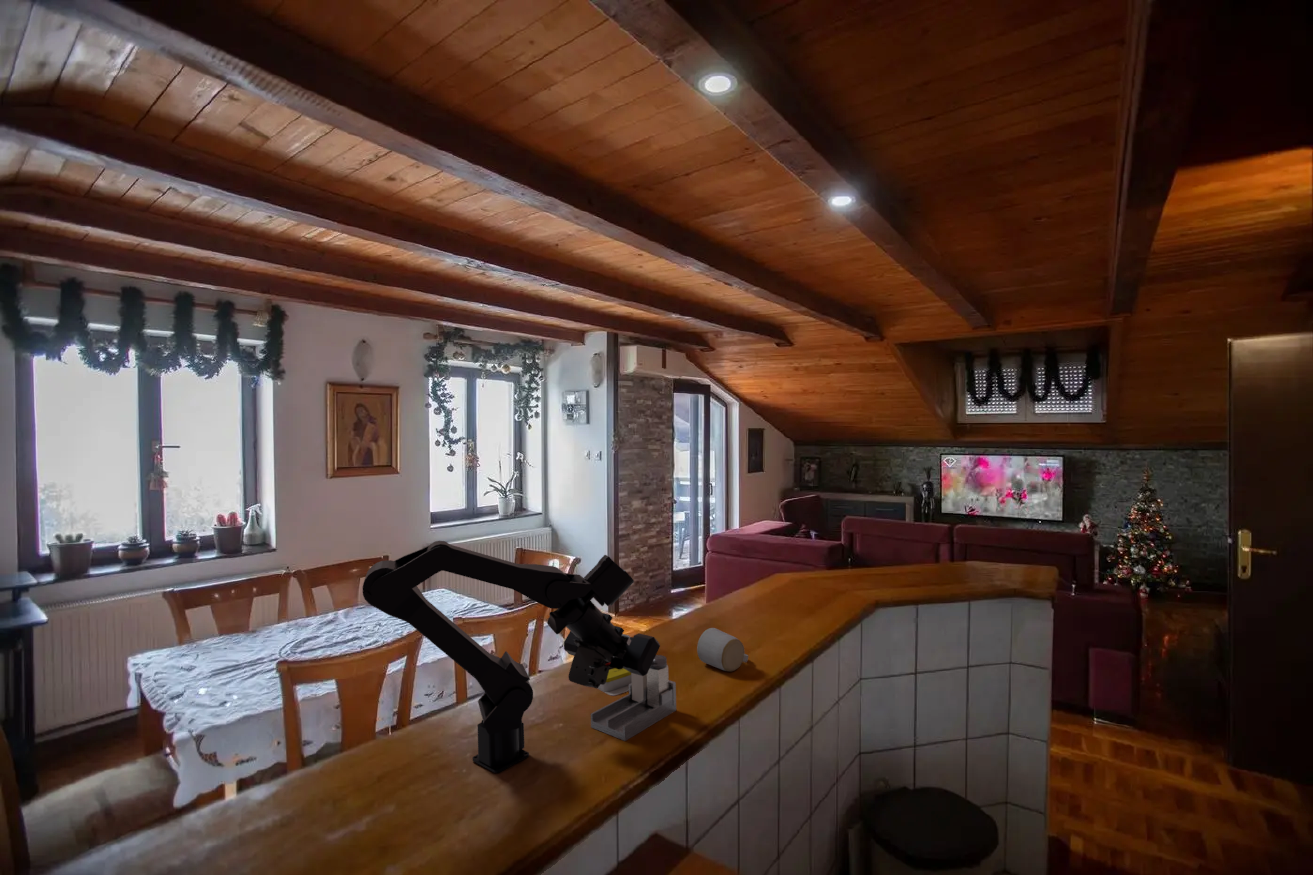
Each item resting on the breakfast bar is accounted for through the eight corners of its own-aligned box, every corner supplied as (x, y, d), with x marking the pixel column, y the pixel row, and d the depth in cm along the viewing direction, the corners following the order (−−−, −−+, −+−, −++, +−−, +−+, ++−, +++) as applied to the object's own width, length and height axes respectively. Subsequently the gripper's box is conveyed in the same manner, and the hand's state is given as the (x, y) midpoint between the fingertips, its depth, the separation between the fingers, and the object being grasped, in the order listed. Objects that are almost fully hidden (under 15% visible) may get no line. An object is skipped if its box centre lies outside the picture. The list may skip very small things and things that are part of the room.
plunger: (643, 704, 112) (642, 658, 112) (629, 699, 114) (628, 654, 114) (655, 698, 115) (654, 653, 115) (641, 693, 117) (640, 649, 117)
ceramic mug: (723, 677, 128) (723, 640, 128) (696, 666, 134) (696, 631, 134) (757, 665, 134) (757, 629, 134) (730, 655, 141) (729, 621, 141)
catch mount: (625, 741, 102) (623, 681, 102) (591, 727, 107) (589, 670, 107) (676, 710, 113) (674, 656, 113) (643, 699, 118) (641, 647, 118)
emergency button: (607, 645, 137) (649, 664, 125) (607, 665, 137) (649, 686, 125) (571, 656, 131) (611, 676, 120) (571, 676, 131) (612, 699, 120)
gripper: (526, 655, 105) (574, 698, 114) (605, 681, 93) (653, 726, 102) (560, 599, 111) (603, 644, 120) (638, 616, 100) (680, 664, 108)
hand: (632, 669), depth 112 cm, fingers closed
